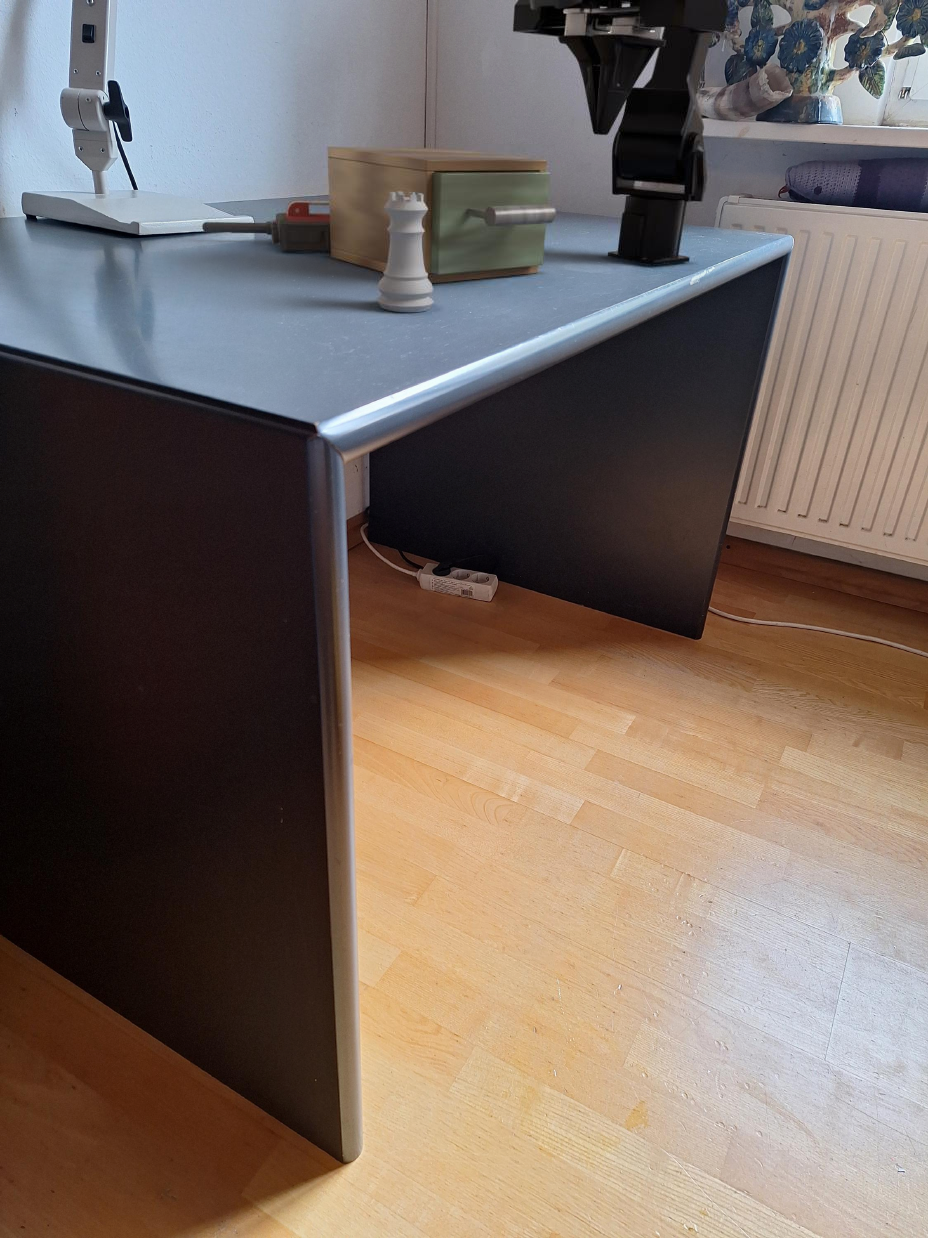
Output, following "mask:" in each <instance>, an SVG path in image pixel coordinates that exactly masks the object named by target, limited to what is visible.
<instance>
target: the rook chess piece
mask: <svg viewBox="0 0 928 1238" xmlns="http://www.w3.org/2000/svg"><path fill="white" fill-rule="evenodd" d="M384 208H385V209H386V211H387V213H388V214H389V216H390V220H391V222H390V226H389V227H388V229H387V230H388V231H389V233H390V248H389V256H388V263H387V267H386V270H385V271H384V272H382V273H383V277H382V278H381V279H380V280H379V281H378V285H377V290H378V291H379V293H380V294H381V295H380V296H378V297H377V298H376V302H377V303H378V305H379V306H380V308H382V309H383V310H385V311H390V312H397V313H420V312H426V311H428V310H430V309H431V307H432V306H433V304H434V303H435V301H434V299H433V298H431V294H432V293H433V291H434V287H433V283H431V282H430V281H429V280H428V278H427V277H428V273H427V272H426V271H425V267H424V262H423V252H422V234H423V233H424V232H425V231H424V229H423V228H422V218H423V216H424V215H425V213H426V212H427V210H428V208H427V206H426V205H425V203H424V202H423V194H422V193H417V195H415V192H408V197H404V194H403V192H396V194H395V192H389V200H388V202H387V203H386V205H385V206H384Z"/></svg>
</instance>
